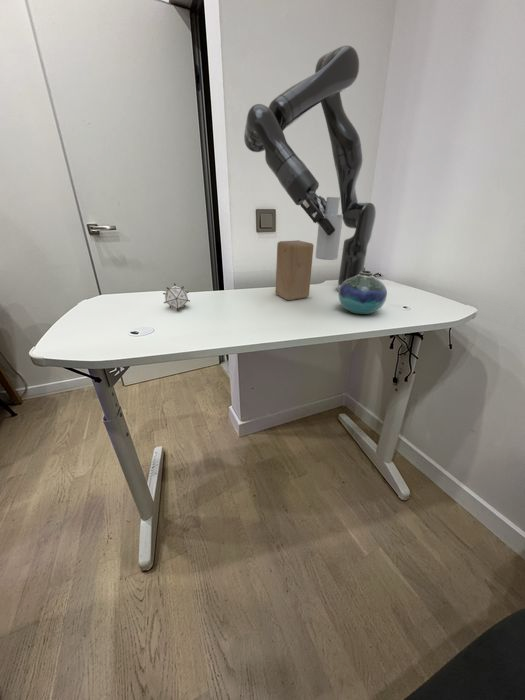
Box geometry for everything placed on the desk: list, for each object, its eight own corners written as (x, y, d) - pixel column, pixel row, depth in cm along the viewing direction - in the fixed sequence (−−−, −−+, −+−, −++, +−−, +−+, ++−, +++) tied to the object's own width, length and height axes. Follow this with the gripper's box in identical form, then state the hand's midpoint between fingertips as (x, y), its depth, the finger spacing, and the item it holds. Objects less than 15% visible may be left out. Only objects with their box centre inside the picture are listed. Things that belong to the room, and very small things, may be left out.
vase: (365, 302, 108) (372, 266, 102) (392, 317, 95) (402, 276, 89) (328, 305, 104) (333, 267, 98) (351, 321, 91) (358, 278, 85)
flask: (326, 255, 85) (333, 197, 78) (341, 258, 80) (350, 197, 73) (311, 256, 82) (316, 196, 75) (325, 260, 77) (333, 197, 70)
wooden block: (287, 301, 108) (291, 244, 98) (274, 294, 115) (276, 241, 106) (309, 298, 112) (314, 243, 102) (295, 291, 120) (299, 239, 110)
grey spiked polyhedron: (185, 318, 100) (199, 297, 96) (162, 316, 94) (177, 293, 89) (175, 300, 104) (189, 279, 99) (153, 296, 97) (167, 274, 93)
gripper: (297, 166, 68) (340, 223, 69) (316, 171, 80) (353, 220, 81) (276, 191, 73) (316, 245, 74) (297, 192, 84) (331, 239, 85)
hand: (335, 231), depth 77 cm, fingers closed on flask, 6 cm apart
